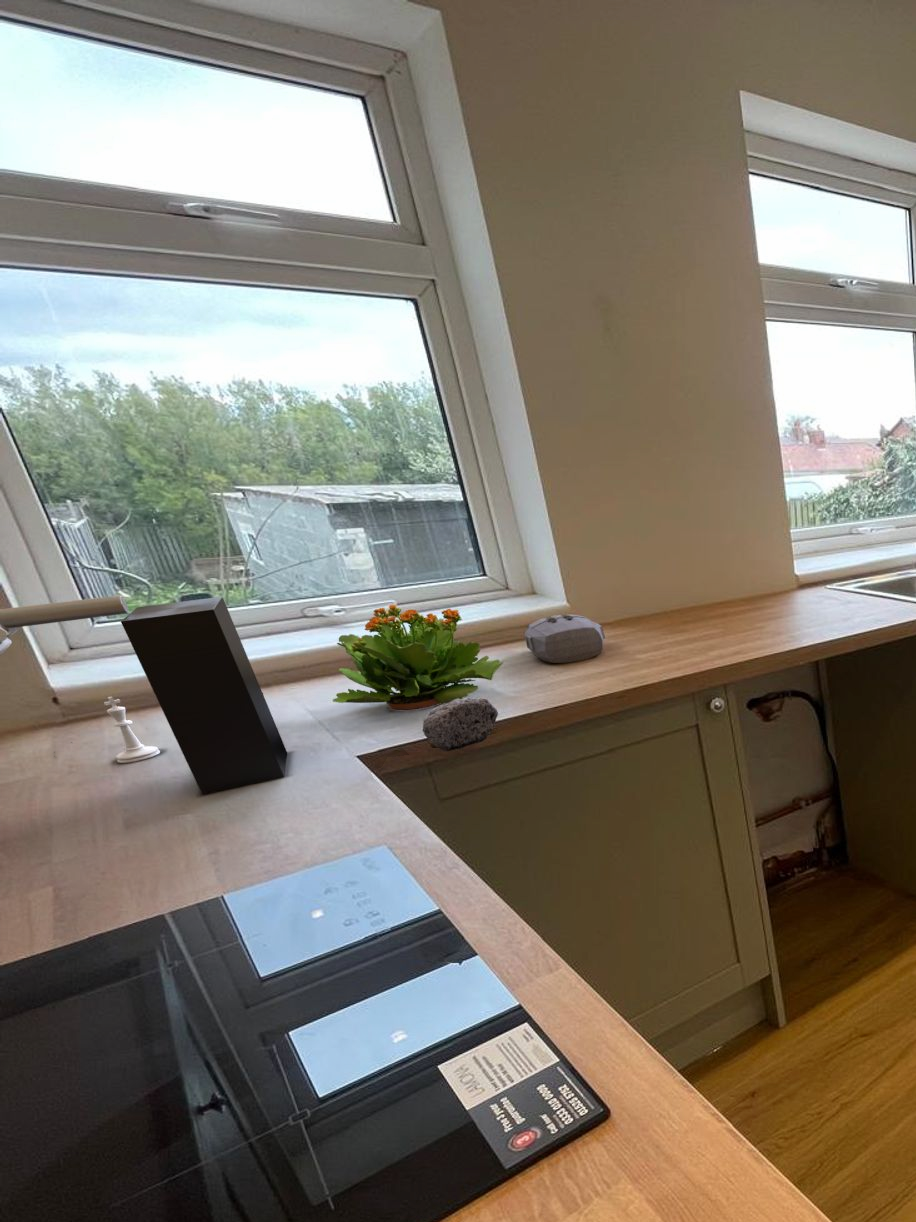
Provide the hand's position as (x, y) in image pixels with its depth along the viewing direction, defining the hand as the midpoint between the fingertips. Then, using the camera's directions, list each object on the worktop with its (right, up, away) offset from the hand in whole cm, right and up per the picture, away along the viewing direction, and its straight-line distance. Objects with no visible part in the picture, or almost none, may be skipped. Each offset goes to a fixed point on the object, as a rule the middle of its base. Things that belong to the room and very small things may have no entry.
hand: (13, 621), depth 102 cm
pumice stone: (+39, -15, +27) cm, 50 cm away
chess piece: (-12, -18, +26) cm, 34 cm away
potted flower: (+18, -8, +46) cm, 50 cm away
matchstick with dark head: (+1, -1, +1) cm, 2 cm away
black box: (+13, -20, +18) cm, 30 cm away
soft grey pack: (+30, +5, +75) cm, 81 cm away
